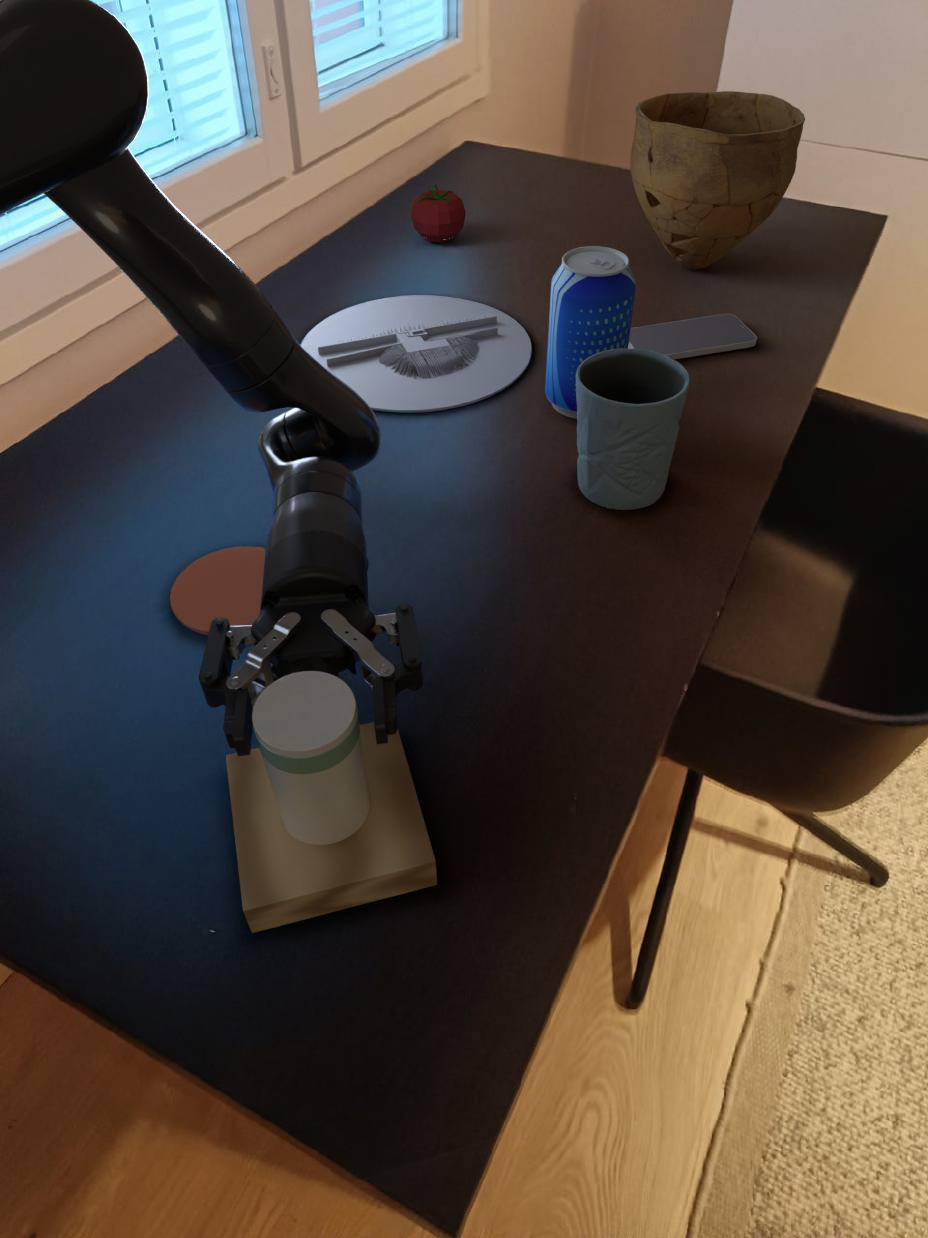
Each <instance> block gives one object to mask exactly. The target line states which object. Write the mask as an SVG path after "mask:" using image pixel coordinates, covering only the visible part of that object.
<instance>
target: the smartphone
mask: <svg viewBox="0 0 928 1238" xmlns="http://www.w3.org/2000/svg"><path fill="white" fill-rule="evenodd" d="M757 340H758V337H757V335H756V334H755V333H754V332H753V331H752V330H751V329H750V328H749V327H748V326H747V325H746V324H744V322H743V321H742V320H741V319H739V317H737V316H736V315H734V314H732V313H721V314H714V315H709V316H708V315H707V316H701V317H695V318H687V319H682V320H676V321H668V322H663V323H661V322H660V323H656V324H649V325H642V326H635V327H631V328H630V336H629V344H628V348H629V349H643V350H650V351H654V352H658V353H661V354H663V355H666V356H667V357H669V358H671V359H673V360H680V359H686V358H693V357H697V356H698V357H699V356H704V355H705V356H706V355H711V354H717V353H723V352H731V351H735V350H736V351H737V350H741V349H748V348H752V347H755V346H756V344H757Z"/></svg>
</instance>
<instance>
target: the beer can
mask: <svg viewBox="0 0 928 1238" xmlns="http://www.w3.org/2000/svg"><path fill="white" fill-rule="evenodd" d="M636 287H637V282H636V279H635V277H634V274H633V273H632V270H631V269H630V258H629V257H628V256H627V254H625V253H624V252H622V251H620V250H618V249H615V248H613V247H606V246H600V245H587V246H580V247H576V248H573V249H570V250H568V251H567V252H565V253H564V254H563V256H562V258H561V264H560V266H559V267H558V268H557V270H556V271H555V272H554V274H553V275H552V278H551V283H550V297H549V298H550V300H549V301H550V302H549V318H548V332H547V333H548V337H547V353H546V368H545V369H546V370H545V388H544V391H545V392H544V393H545V396H546V398H547V400H548V401H549V402H550V403H551V407H552V408H553V409H554V410H555V411H556V412H557V413H558V414H561V415H562V416H565V417H568V418H571V419H575V420H577V400H576V371H577V369H578V367H579V366H580V364H581V363H582V362H583V361H584V360H585V359H587V358H588V357H590V356H592V355H594V354H597V353H599V352H603V351H607V350H613V349H623V348H628V344H629V336H630V328H632V319H633V312H634V304H635V295H636Z"/></svg>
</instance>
